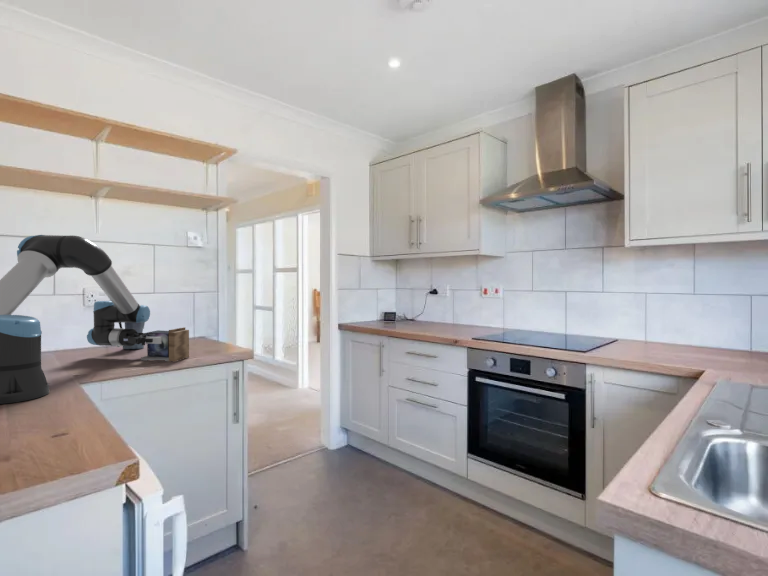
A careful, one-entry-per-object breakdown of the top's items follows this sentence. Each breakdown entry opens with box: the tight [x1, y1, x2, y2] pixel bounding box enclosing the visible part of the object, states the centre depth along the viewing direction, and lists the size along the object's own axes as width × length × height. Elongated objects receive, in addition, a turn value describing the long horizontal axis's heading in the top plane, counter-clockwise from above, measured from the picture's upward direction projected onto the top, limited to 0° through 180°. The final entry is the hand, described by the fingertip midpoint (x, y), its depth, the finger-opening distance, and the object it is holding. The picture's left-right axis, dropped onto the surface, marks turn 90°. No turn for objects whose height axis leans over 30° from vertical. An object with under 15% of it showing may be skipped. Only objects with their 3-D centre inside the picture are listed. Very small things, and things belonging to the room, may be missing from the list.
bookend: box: [140, 326, 190, 363], centre depth 176 cm, size 10×16×13 cm, turn 82°
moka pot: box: [118, 322, 146, 350], centre depth 201 cm, size 10×15×20 cm, turn 164°
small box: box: [146, 329, 169, 358], centre depth 176 cm, size 11×6×10 cm, turn 78°
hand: (170, 338), depth 175 cm, fingers open, 12 cm apart
